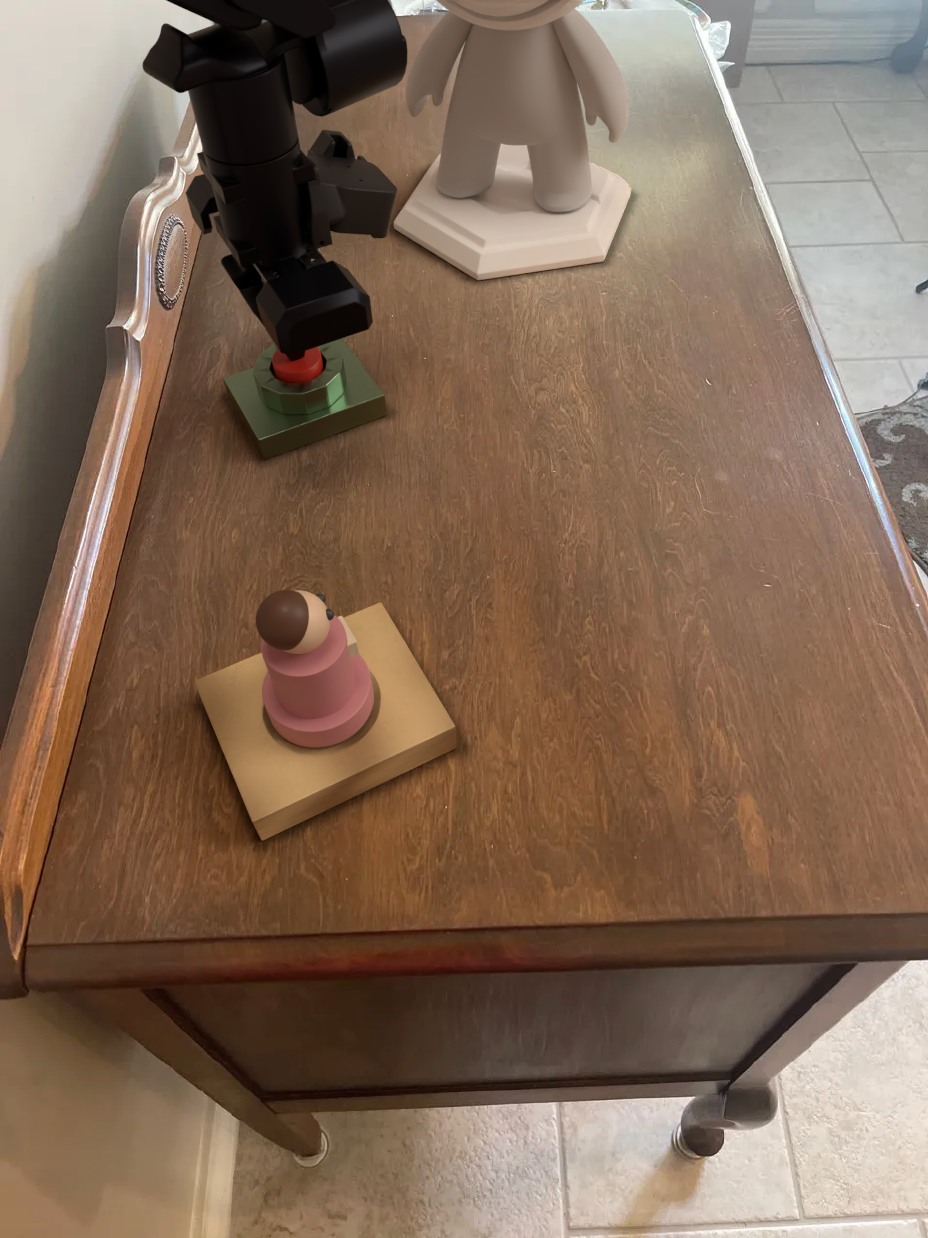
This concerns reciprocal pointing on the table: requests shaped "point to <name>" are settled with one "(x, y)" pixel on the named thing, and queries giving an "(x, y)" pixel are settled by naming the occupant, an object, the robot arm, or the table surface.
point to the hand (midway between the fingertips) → (295, 356)
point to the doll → (311, 670)
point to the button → (298, 366)
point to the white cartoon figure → (517, 139)
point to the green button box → (304, 400)
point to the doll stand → (326, 776)
